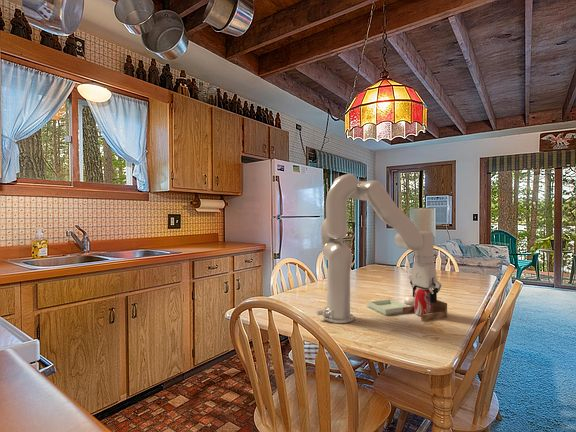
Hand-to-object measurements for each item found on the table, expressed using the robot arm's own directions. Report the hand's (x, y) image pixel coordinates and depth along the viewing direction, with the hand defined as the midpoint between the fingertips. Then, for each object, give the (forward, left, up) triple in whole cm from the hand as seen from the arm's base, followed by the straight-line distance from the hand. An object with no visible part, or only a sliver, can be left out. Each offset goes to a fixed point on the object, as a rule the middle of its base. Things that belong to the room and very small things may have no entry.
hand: (424, 299), depth 142 cm
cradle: (-1, 0, -7) cm, 7 cm away
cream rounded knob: (+7, +15, -7) cm, 18 cm away
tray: (-10, +12, -7) cm, 17 cm away
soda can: (-1, 0, -7) cm, 7 cm away
